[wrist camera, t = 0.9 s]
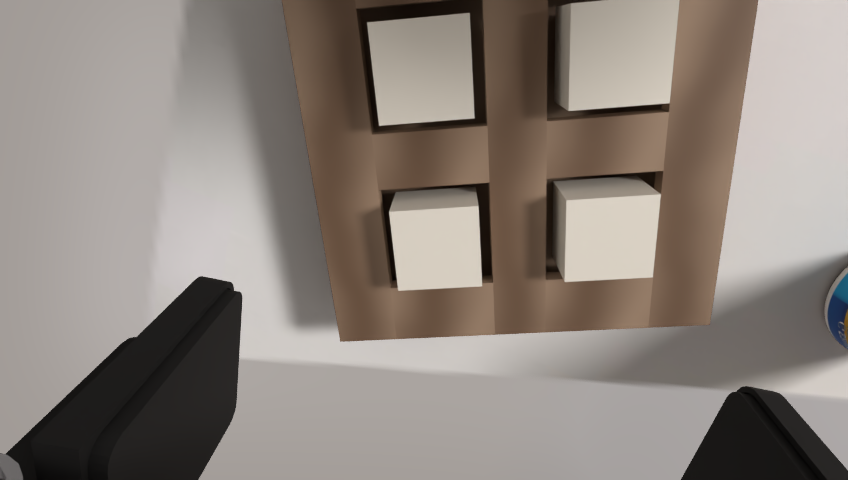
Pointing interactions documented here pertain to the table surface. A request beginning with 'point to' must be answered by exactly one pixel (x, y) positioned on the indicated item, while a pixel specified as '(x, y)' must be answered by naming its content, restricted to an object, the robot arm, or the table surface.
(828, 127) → the table surface
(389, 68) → the button
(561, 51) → the button
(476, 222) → the button
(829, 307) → the beverage bottle
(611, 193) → the button
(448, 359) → the table surface
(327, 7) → the board
